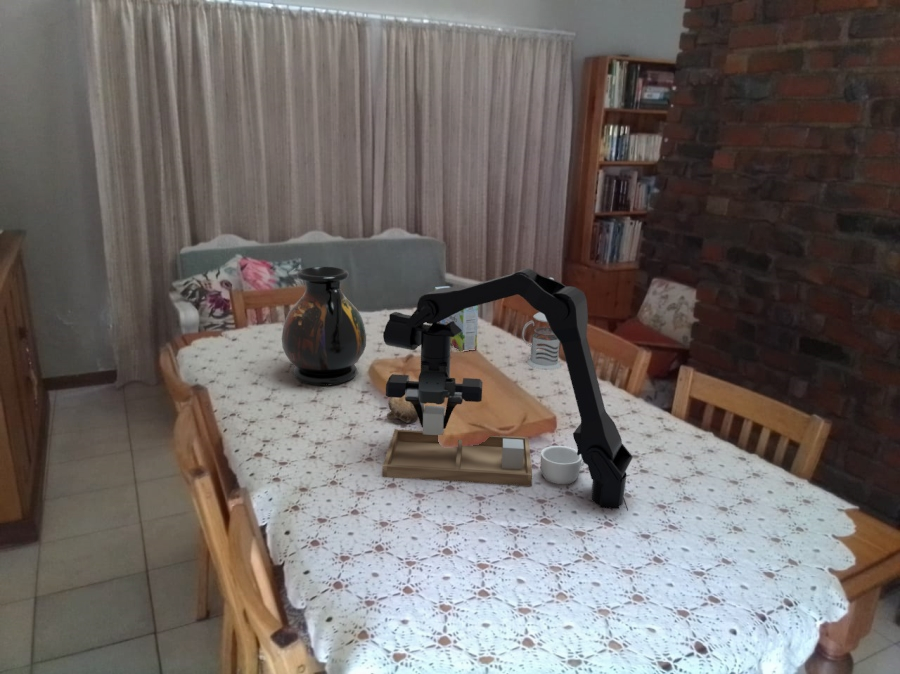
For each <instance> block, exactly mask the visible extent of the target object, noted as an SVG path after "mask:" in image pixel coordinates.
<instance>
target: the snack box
mask: <svg viewBox="0 0 900 674" xmlns="http://www.w3.org/2000/svg"><path fill="white" fill-rule="evenodd" d="M448 287H450V286H449V285H447V286H446V285H445V286H435V287H434V291H435V290H437V289H439V288H448ZM478 317H479V305H477V306H473V307H469V308H466V309H463V310H461V311H459V312H457V313H455V314H453V315H451V316H449V317H447V318H445V319H443V320H441V321H439V322H437V323H442V324H448V323H450V322H452V321H454V322H455V324H456V325H457V326H458V327H459V328H460V329H461V330H462V332H461V333H459V334H458V335H456V336H454V337H451V346H453V347H454V348H456V349H457V350H458V351H460V352H461V351H463V350H469V349H475V350H474V351H477V349H478V346H477V345H478V323H479V321H478V320H479V318H478Z"/></svg>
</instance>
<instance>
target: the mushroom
mask: <svg viewBox="0 0 900 674" xmlns="http://www.w3.org/2000/svg"><path fill="white" fill-rule="evenodd" d="M405 397H406V394H405V395H404V396H403V397H402V398H396V397H389V400H388V402H387V403H388V407H389V409H390V411H388V412H387V414H386V418H387V419H388V420H401V421H402V422H404V423H406V424H413V423H415V422H416V421H418V420H419V418H418V415H417V412H416V410H415V408H414V406H413V404H412V403H411V402H408V401H405Z"/></svg>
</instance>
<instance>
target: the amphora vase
mask: <svg viewBox="0 0 900 674" xmlns="http://www.w3.org/2000/svg"><path fill="white" fill-rule="evenodd" d="M349 275H350V274H349V271H348V270H346V269H344V268H340V267H334V266H333V267H332V266H312V267H311V266H310V267H305V268H302V269H299V270H298V271H297V273H296V277H297V278H298V279H299V280H301V281H304V285H305V291H304V293H303V295H302V296H301V297H300V298H299V300H297V301H296V302H295V304H294V305H293V306H292V307H291V308H290V310H289V311H288V313H287V315H286V317H285V321H284V324H283V328H282V334H281V344H282V349H283V352H284V355H285V356H286V358H287V359H288V360H289V361H290V363H292V364H293V365H294V368H293V370H292V371H293V376H294V378H295V379H296V380H298V381H300V382H302V383H305V384H307V385H314V386H332V385H338V384H339V385H340V384H342V383H346V382H347V381H349V380H351V379H353V378H354V377H355V376H356V374H357V372H358V370H357V365H356V363H358V361H359V360H360V358H361V357H362V355H363V354H364V352H365V349H366V347H367V333H366V328H365V323H364V320H363V318H362V315H361V314H360V311H359V310H358V309H357V307H356V306H355V305H354V304H353V303H352V302H351V301H350V300H349V299H348V298H347V297H346V296H345V294H344V293H343V291H342V289H341V284H342V281H344V280H346V279H348V277H350V276H349Z"/></svg>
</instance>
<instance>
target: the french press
mask: <svg viewBox="0 0 900 674" xmlns="http://www.w3.org/2000/svg"><path fill="white" fill-rule="evenodd" d="M549 278H550V279H553V280H555V278H554V277H549ZM532 317H533V319H534V320H535V321H538V322H542V323H546V326H544V327H542V326H541V327H536V328H535V329H533V331H534V333H533V334H532V340H531V341H532V343H528V342H527V340H526V339H525V337H524V336H525V331H526V328H527V327H528V326H529V325H531V324H532V326H533V327H535V321H534V320H530V321H527V323H525V324H524V326H523V329H522V334H521V335H522V339H523V341H524V342H523V343H525V344H526V346H528V347H529V348H530V358H529V359H527V361H526V362H527V363H526V364H527V365H528V366H530V367H532V368H535V369H538V370H539V369H540V370H556V369H559V368H560V367H562V363H561V362H560V360H559V355H560V354H559V353H560V345H561V343H560V341H559V340H558V339H557V337H556V336H555V335H554V333H553V332H552V331H551V328H550V327H548V326H549V324H548V322H547V319H546V317H545V315H544V314H543V313H541V312H539V311H538V312H537V313H535V314H534V315H533V316H532ZM540 336H543V337H540ZM538 337H539V338H538ZM546 338H547V339H546ZM548 339H549V340H548Z"/></svg>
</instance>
